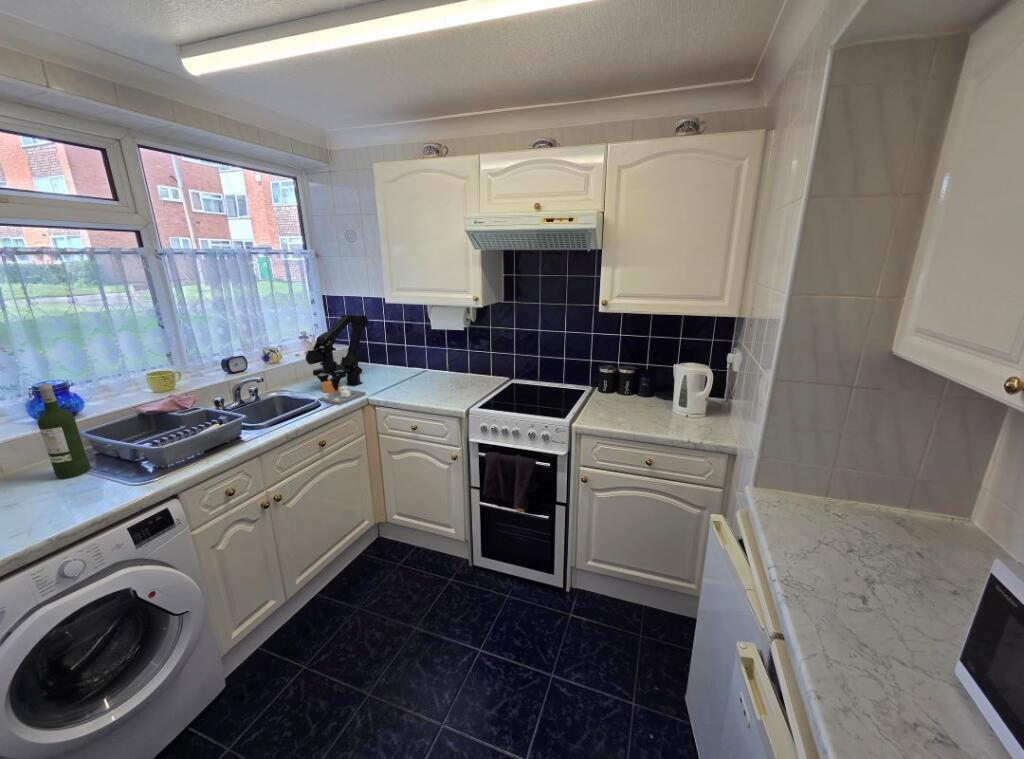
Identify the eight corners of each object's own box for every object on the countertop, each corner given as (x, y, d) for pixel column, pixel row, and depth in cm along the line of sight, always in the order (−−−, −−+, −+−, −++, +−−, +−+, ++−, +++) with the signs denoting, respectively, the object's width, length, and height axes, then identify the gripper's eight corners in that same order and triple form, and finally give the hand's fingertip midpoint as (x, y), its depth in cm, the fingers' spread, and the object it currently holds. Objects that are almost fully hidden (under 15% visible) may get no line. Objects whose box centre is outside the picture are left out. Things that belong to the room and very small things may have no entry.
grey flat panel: (344, 391, 216) (344, 387, 215) (365, 394, 211) (365, 390, 210) (318, 401, 201) (317, 396, 201) (340, 405, 196) (339, 400, 195)
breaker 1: (343, 390, 212) (343, 386, 211) (348, 391, 211) (347, 386, 210) (339, 392, 209) (338, 387, 209) (343, 392, 208) (343, 388, 208)
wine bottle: (49, 480, 130) (16, 389, 122) (69, 468, 137) (40, 382, 129) (78, 477, 131) (48, 387, 123) (97, 466, 139) (70, 380, 131)
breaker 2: (345, 394, 205) (345, 390, 204) (350, 395, 204) (349, 390, 203) (341, 396, 202) (340, 391, 202) (345, 397, 201) (345, 392, 201)
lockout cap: (332, 389, 221) (330, 379, 220) (341, 390, 219) (339, 380, 217) (322, 392, 216) (321, 382, 214) (331, 393, 213) (330, 383, 212)
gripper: (352, 358, 215) (356, 387, 219) (328, 355, 224) (332, 383, 228) (335, 363, 206) (339, 393, 210) (310, 359, 214) (314, 388, 218)
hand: (331, 389), depth 217 cm, fingers closed on lockout cap, 6 cm apart
